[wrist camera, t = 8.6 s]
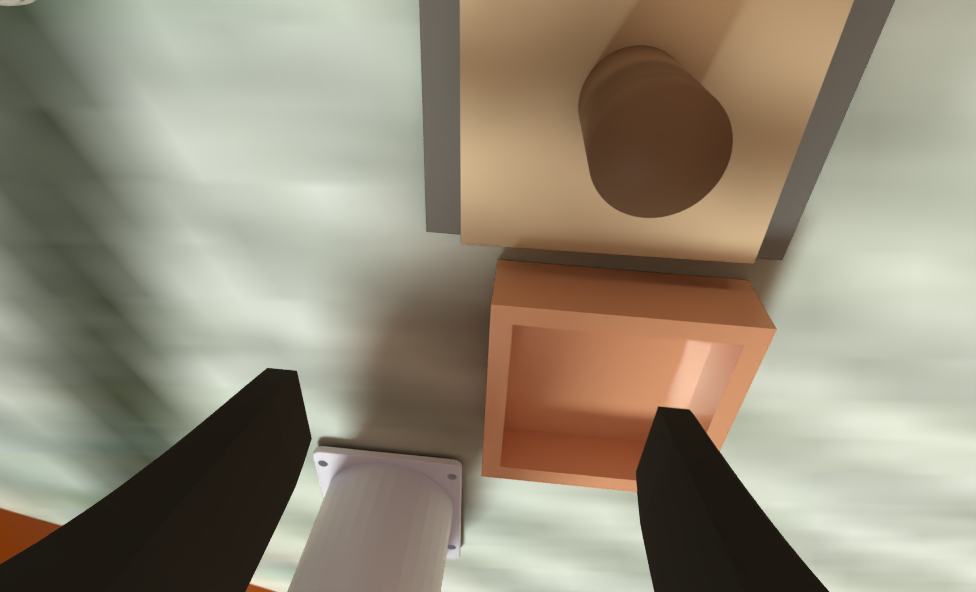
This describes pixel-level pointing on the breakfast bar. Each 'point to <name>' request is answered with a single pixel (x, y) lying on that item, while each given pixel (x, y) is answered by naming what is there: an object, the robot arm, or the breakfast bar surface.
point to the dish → (610, 366)
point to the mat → (822, 127)
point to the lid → (635, 121)
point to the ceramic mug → (15, 2)
